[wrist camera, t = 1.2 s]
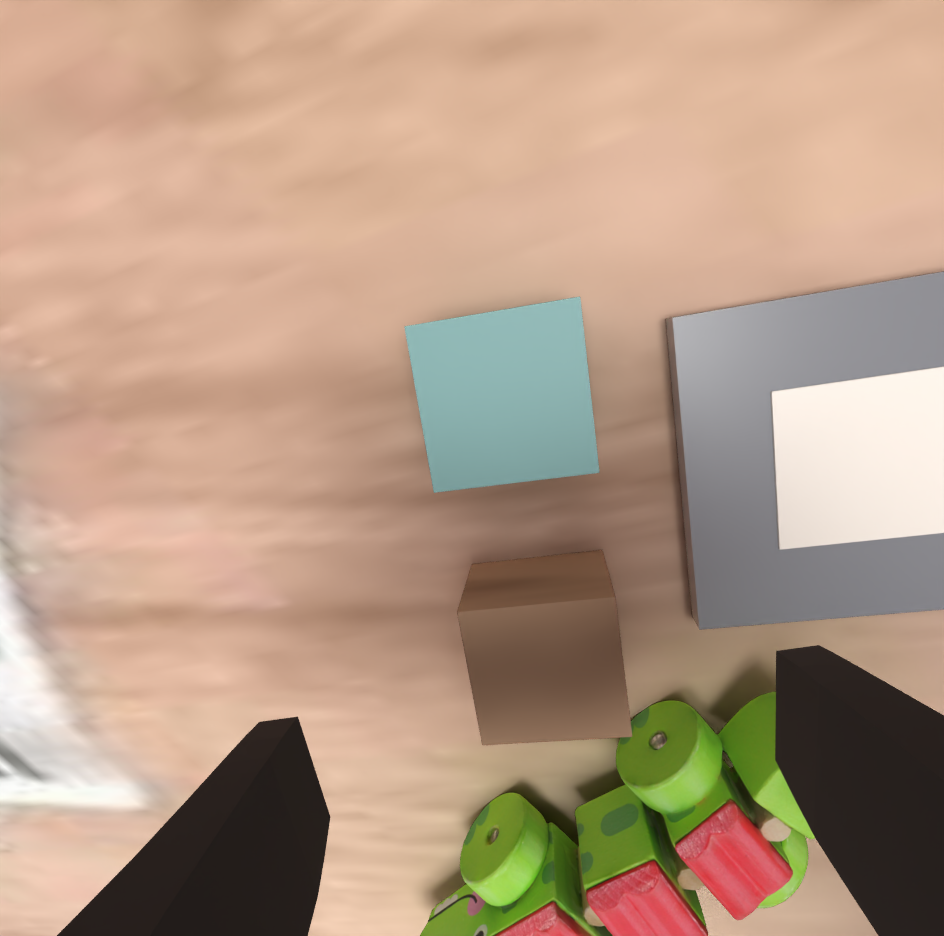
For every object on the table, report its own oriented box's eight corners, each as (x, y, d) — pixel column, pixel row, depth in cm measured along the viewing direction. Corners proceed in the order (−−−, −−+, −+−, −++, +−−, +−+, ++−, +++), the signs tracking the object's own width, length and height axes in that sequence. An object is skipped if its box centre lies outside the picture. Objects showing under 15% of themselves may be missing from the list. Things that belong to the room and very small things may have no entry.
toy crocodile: (489, 950, 26) (473, 1129, 20) (395, 855, 25) (351, 1011, 20) (873, 745, 21) (1000, 901, 15) (770, 620, 21) (861, 734, 15)
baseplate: (1023, 587, 19) (1051, 602, 18) (692, 616, 21) (700, 631, 20) (1040, 254, 17) (1073, 249, 16) (665, 318, 18) (673, 317, 17)
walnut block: (616, 665, 22) (632, 736, 18) (492, 675, 23) (482, 745, 19) (601, 548, 21) (615, 596, 17) (472, 562, 22) (457, 612, 18)
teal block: (588, 446, 20) (599, 472, 16) (453, 463, 21) (433, 492, 17) (572, 305, 19) (580, 296, 15) (431, 328, 20) (404, 326, 16)
